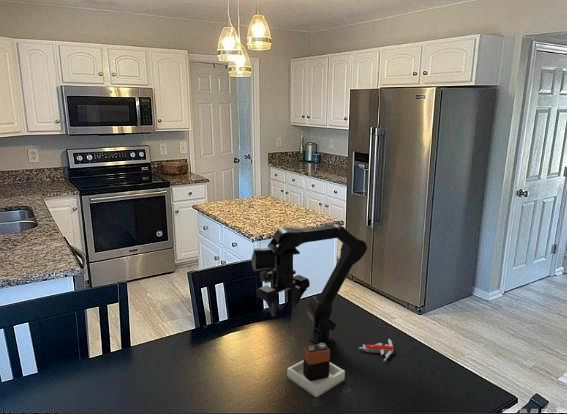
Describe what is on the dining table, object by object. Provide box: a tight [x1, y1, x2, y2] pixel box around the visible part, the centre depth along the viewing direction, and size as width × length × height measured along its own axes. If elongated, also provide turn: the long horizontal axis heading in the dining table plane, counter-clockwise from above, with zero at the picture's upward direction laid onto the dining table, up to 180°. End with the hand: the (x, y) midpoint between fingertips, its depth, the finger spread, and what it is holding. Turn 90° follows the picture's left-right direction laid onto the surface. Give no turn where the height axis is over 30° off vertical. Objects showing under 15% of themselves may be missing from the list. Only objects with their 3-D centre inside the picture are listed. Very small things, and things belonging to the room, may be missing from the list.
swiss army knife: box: [358, 338, 394, 362], centre depth 138 cm, size 12×14×2 cm
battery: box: [303, 343, 331, 381], centre depth 122 cm, size 4×7×10 cm, turn 110°
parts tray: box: [286, 359, 346, 398], centre depth 123 cm, size 12×12×3 cm
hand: (283, 311), depth 137 cm, fingers open, 9 cm apart
